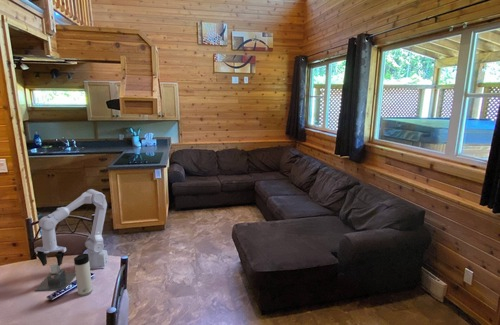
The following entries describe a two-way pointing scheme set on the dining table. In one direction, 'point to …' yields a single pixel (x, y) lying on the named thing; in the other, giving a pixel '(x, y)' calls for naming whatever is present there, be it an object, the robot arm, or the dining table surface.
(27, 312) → the dining table surface
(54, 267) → the column
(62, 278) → the stand base
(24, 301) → the dining table surface
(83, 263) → the travel mug
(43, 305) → the dining table surface
